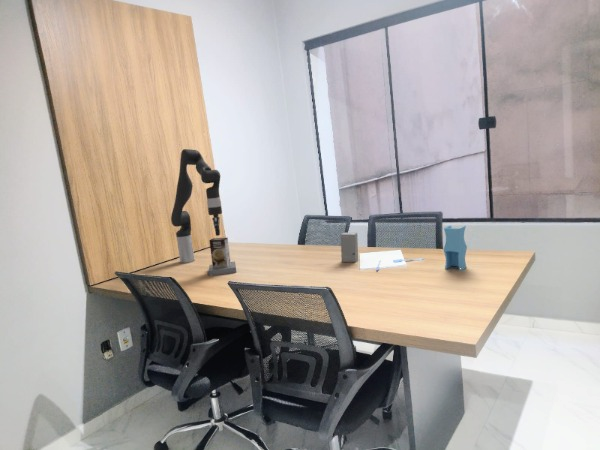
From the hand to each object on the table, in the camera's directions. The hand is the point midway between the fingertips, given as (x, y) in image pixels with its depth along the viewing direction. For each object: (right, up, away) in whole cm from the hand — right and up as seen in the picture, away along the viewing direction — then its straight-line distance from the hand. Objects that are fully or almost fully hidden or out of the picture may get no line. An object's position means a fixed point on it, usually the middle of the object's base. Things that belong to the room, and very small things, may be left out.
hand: (217, 234), depth 235 cm
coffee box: (+2, -19, +3) cm, 19 cm away
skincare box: (+75, -15, -2) cm, 76 cm away
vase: (+122, -16, -35) cm, 128 cm away
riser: (+2, -21, +3) cm, 22 cm away
